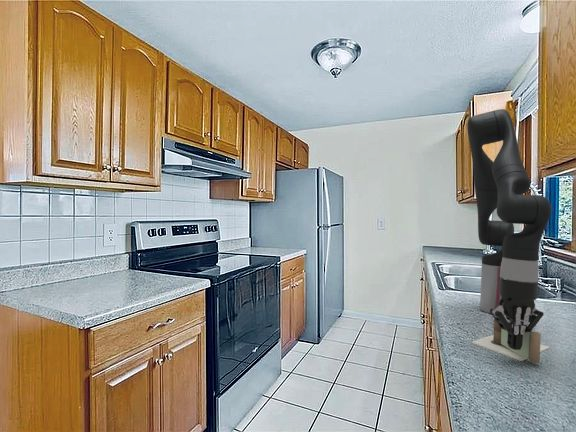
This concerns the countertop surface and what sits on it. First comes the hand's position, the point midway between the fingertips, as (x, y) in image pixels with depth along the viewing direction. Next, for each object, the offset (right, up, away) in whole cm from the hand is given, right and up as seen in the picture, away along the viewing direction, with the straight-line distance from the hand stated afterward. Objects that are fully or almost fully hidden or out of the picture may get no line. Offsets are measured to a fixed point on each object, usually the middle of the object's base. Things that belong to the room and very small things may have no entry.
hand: (514, 348), depth 78 cm
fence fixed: (+7, -3, +13) cm, 15 cm away
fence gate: (+3, -2, +3) cm, 5 cm away
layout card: (+5, -3, +9) cm, 11 cm away
